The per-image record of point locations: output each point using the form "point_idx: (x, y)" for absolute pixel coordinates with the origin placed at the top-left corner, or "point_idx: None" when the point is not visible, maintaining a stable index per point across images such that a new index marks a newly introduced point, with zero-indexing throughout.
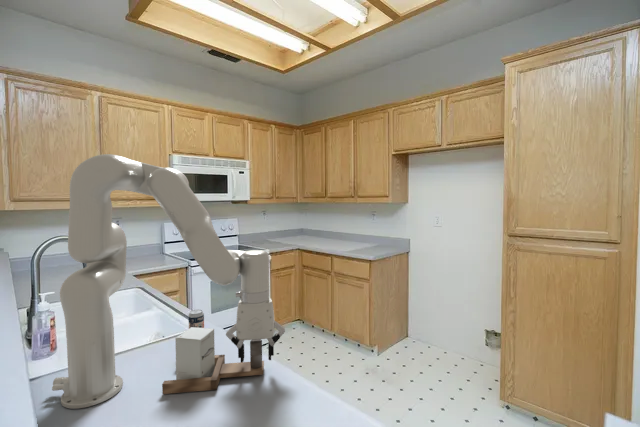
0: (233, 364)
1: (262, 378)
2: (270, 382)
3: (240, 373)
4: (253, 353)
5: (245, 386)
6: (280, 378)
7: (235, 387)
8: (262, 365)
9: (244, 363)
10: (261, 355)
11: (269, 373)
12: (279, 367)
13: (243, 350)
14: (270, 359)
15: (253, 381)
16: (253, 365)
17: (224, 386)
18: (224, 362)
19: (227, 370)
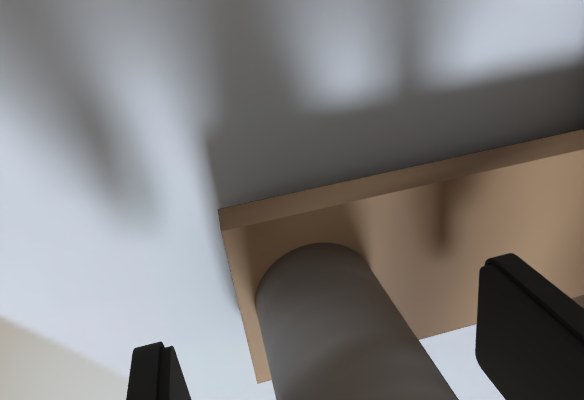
0: None
1: (223, 186)
2: (119, 125)
3: (450, 172)
4: (407, 368)
5: (360, 46)
6: (30, 201)
7: (450, 27)
8: (253, 310)
9: (434, 315)
10: (280, 385)
11: (175, 267)
12: (106, 360)
13: (572, 388)
14: (140, 350)
15: (299, 133)
16: (346, 263)
17: (544, 42)
18: None
19: (577, 192)
